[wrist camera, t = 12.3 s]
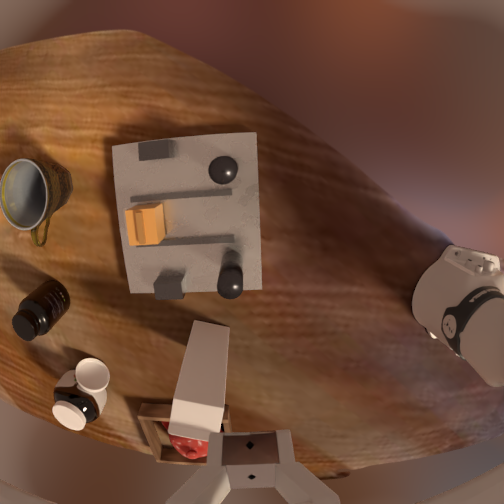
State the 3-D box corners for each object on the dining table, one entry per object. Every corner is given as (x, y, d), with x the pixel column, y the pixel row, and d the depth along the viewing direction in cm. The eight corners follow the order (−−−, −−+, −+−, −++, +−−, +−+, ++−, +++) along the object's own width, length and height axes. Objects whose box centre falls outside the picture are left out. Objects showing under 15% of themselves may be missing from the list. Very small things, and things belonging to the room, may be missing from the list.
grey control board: (255, 133, 42) (259, 125, 30) (260, 281, 48) (266, 320, 37) (119, 146, 42) (81, 145, 30) (136, 285, 48) (109, 322, 37)
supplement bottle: (54, 316, 50) (22, 350, 38) (36, 285, 48) (0, 314, 36) (77, 307, 49) (45, 342, 38) (60, 273, 47) (22, 303, 36)
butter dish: (207, 405, 57) (203, 436, 49) (231, 437, 60) (230, 467, 52) (159, 415, 58) (151, 444, 50) (185, 446, 61) (181, 474, 53)
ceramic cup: (31, 164, 41) (-6, 169, 32) (76, 147, 41) (41, 149, 32) (46, 237, 45) (12, 255, 36) (91, 227, 45) (60, 245, 36)
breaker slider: (162, 203, 41) (153, 209, 37) (165, 236, 42) (157, 245, 38) (135, 205, 41) (123, 211, 37) (138, 237, 42) (128, 247, 38)
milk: (194, 319, 50) (167, 416, 29) (230, 326, 51) (223, 427, 30) (189, 348, 52) (165, 446, 31) (223, 355, 53) (214, 456, 31)
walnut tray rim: (228, 405, 56) (228, 419, 53) (235, 452, 62) (234, 465, 58) (141, 402, 56) (137, 415, 52) (159, 449, 61) (157, 462, 57)
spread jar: (73, 389, 56) (53, 425, 44) (60, 348, 52) (33, 383, 41) (121, 399, 56) (105, 439, 45) (111, 357, 53) (89, 397, 42)
